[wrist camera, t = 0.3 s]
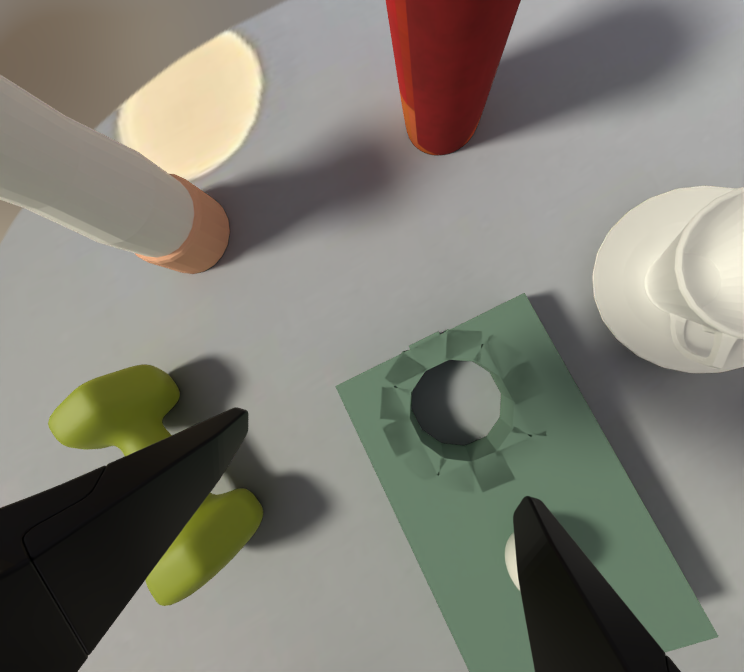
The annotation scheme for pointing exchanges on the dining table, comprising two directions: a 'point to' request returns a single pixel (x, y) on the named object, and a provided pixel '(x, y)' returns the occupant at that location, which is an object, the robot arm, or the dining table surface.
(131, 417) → the dumbbell
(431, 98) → the paper cup
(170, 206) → the salt shaker
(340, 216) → the dining table surface
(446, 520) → the green slab with hollow
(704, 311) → the teacup
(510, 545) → the ball
